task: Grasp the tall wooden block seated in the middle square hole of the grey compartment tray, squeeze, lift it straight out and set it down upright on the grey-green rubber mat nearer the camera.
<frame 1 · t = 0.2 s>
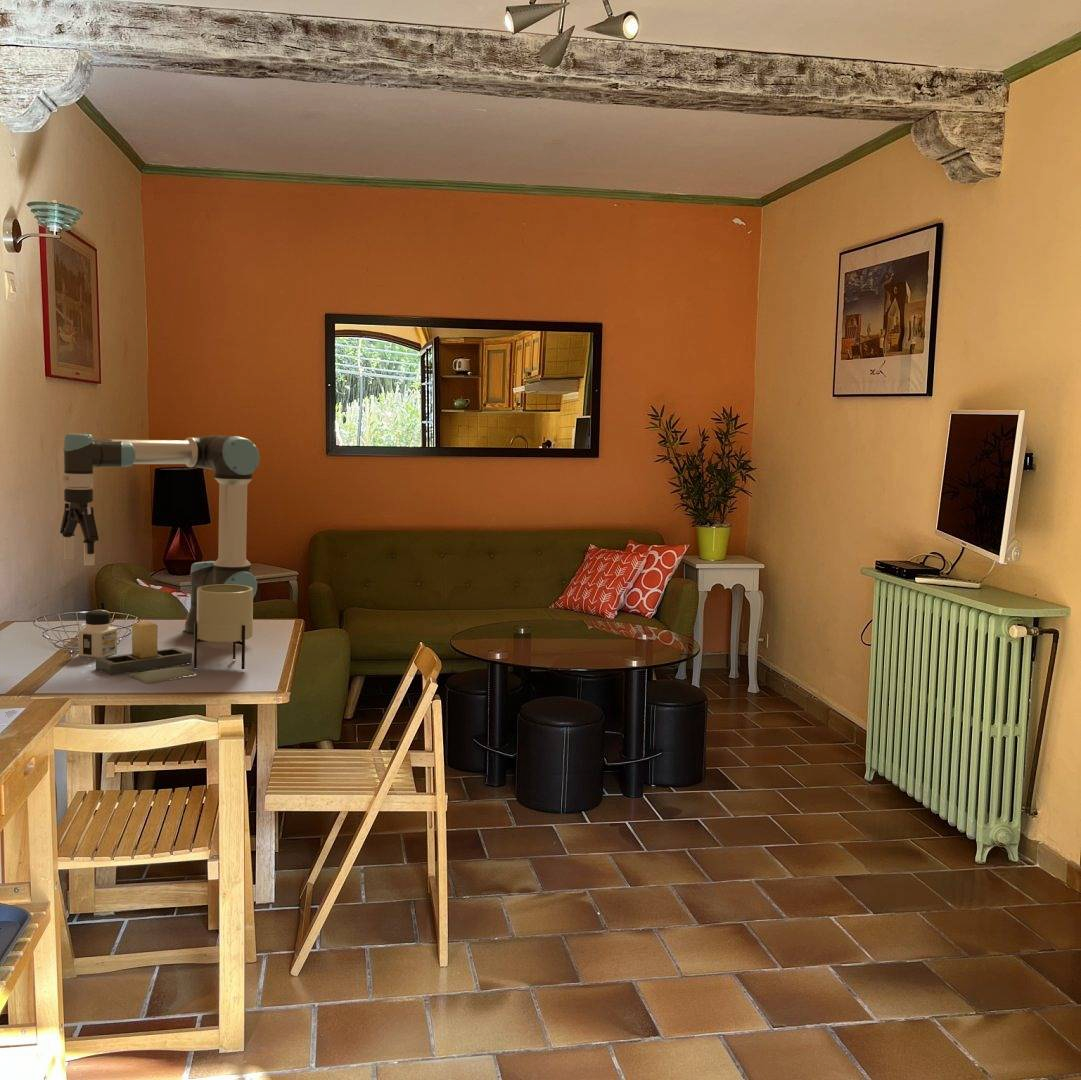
hand: (79, 562, 302), 28 cm above the table, fingers open, 13 cm apart
container: (98, 655, 310), on the table
wooden block: (144, 644, 298), in the grey compartment tray
planter: (224, 668, 302), on the table
mat: (163, 675, 289), on the table
grey compartment tray: (144, 666, 299), on the table
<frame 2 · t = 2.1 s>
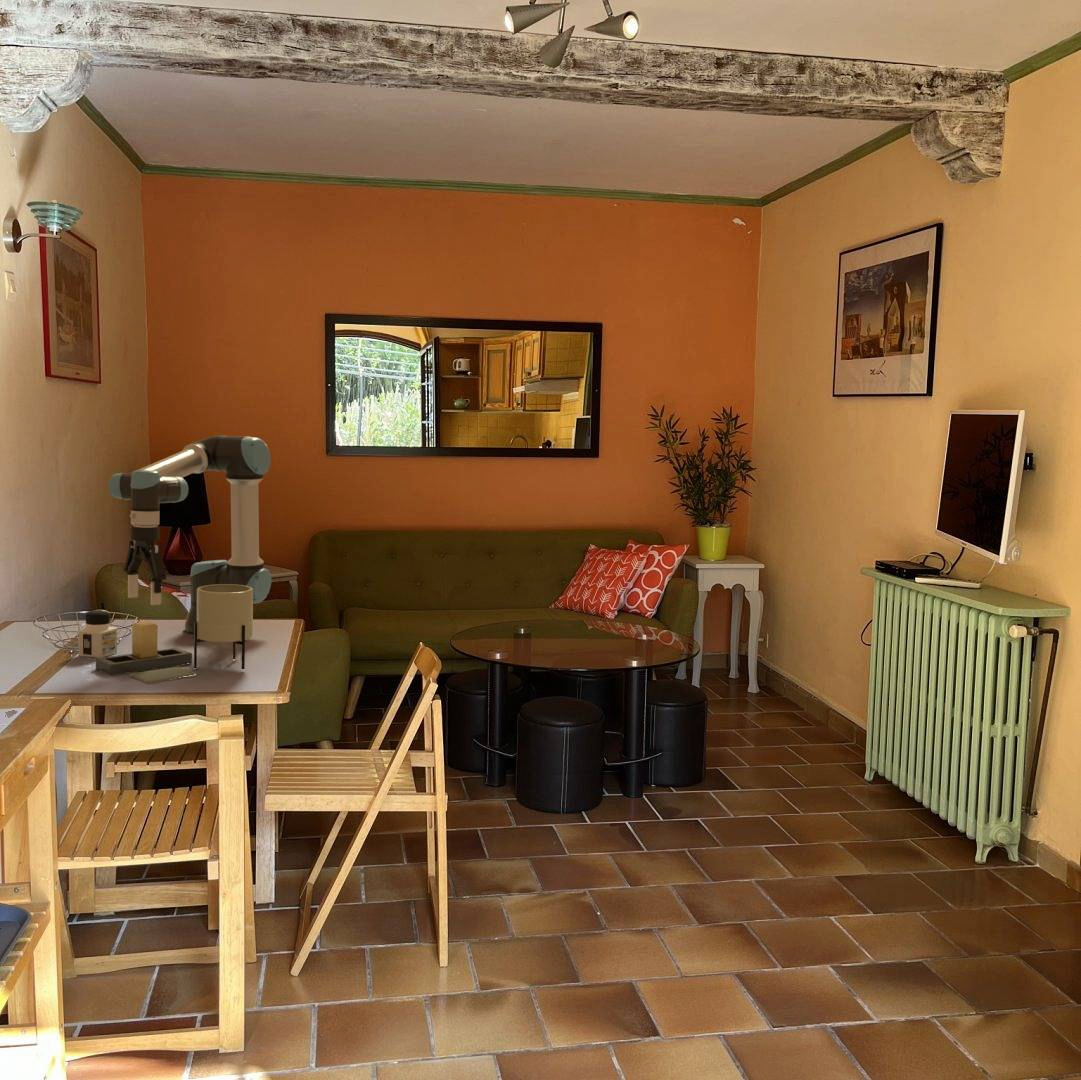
hand: (144, 601, 297), 19 cm above the table, fingers open, 13 cm apart
nothing on the table moved.
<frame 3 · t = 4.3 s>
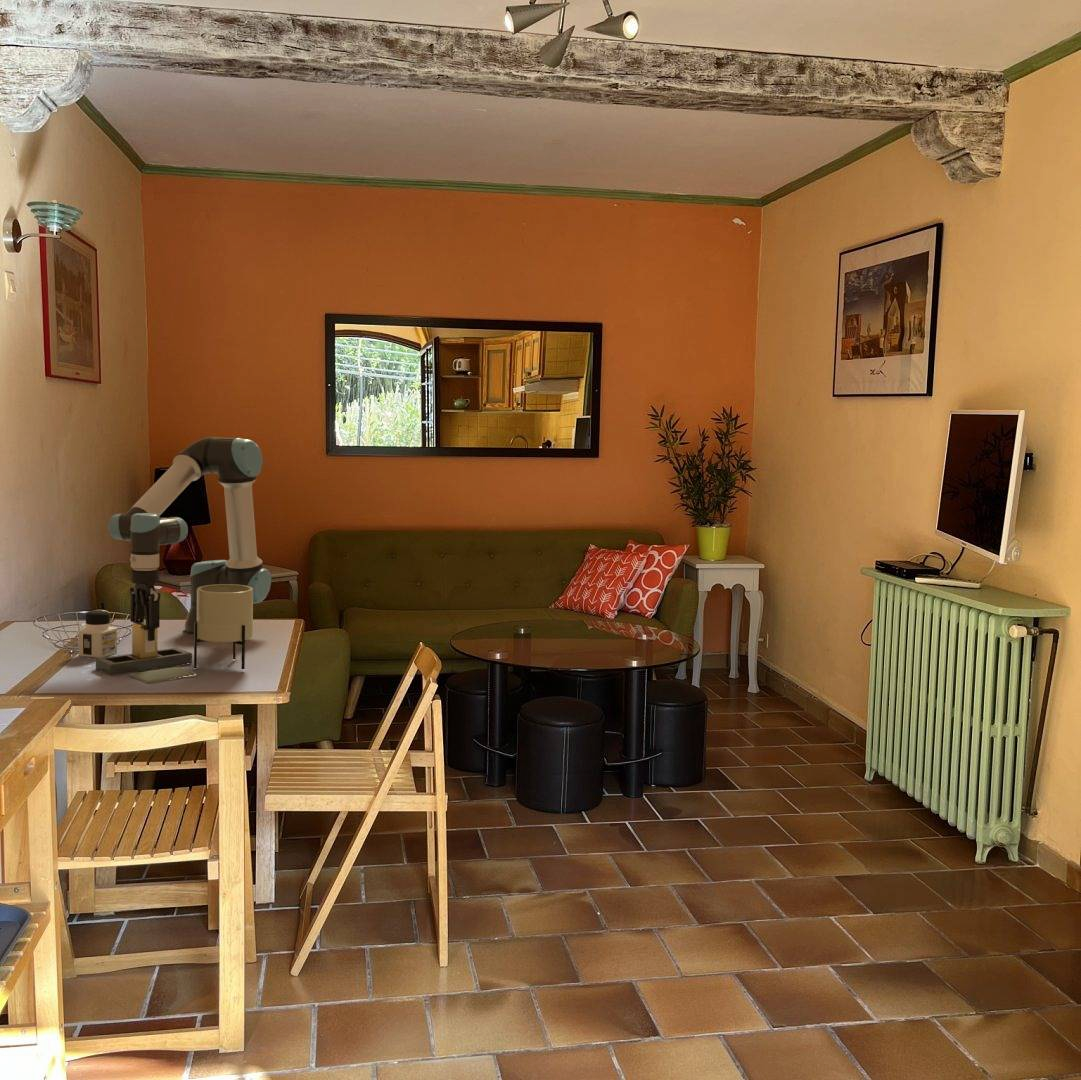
hand: (144, 649, 298), 5 cm above the table, fingers closed on wooden block, 5 cm apart
wooden block: (144, 644, 298), in the grey compartment tray, touching gripper
everything else where it was.
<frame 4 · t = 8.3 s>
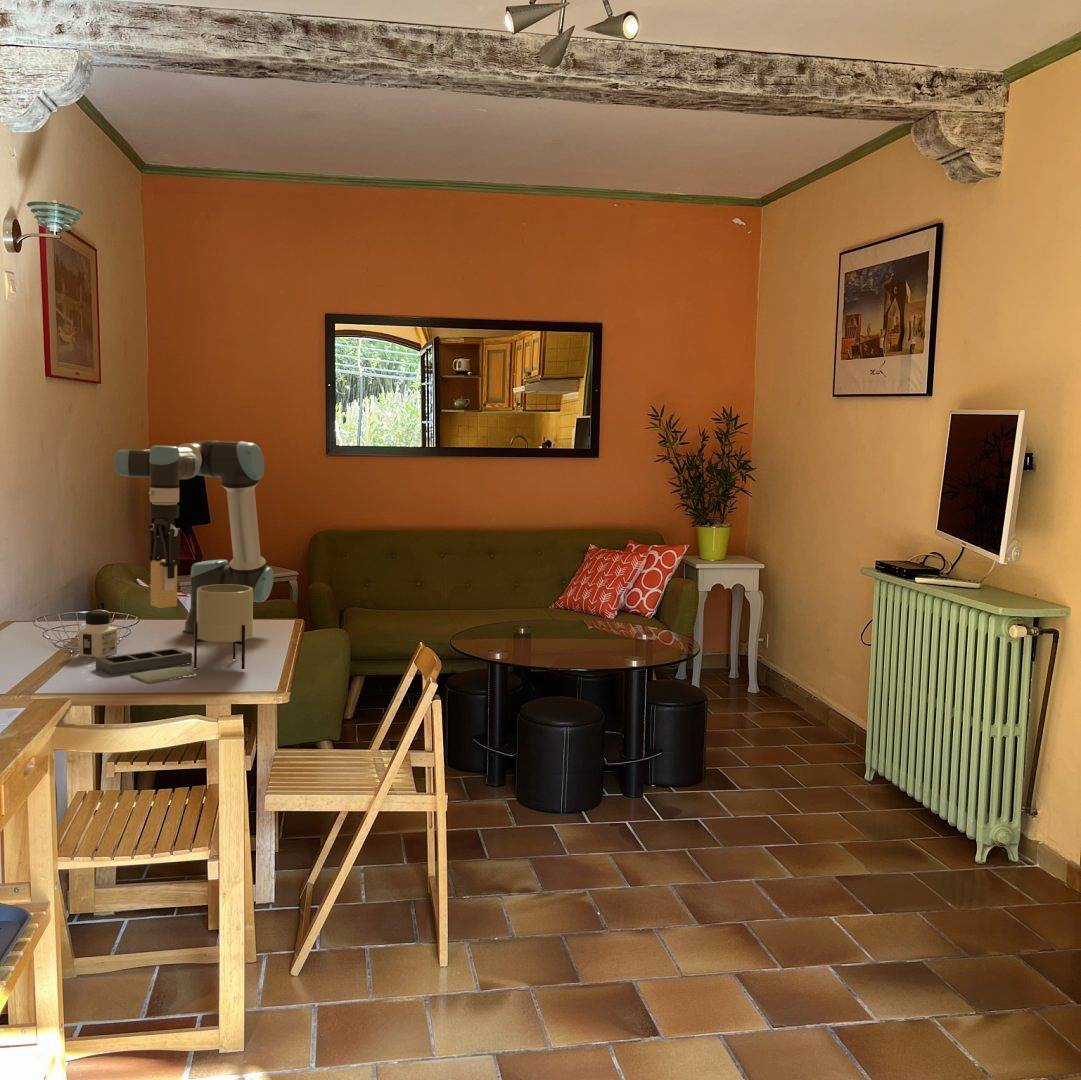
hand: (163, 588, 287), 24 cm above the table, fingers closed on wooden block, 5 cm apart
wooden block: (163, 583, 286), point 26 cm above the table, touching gripper
everything else where it was.
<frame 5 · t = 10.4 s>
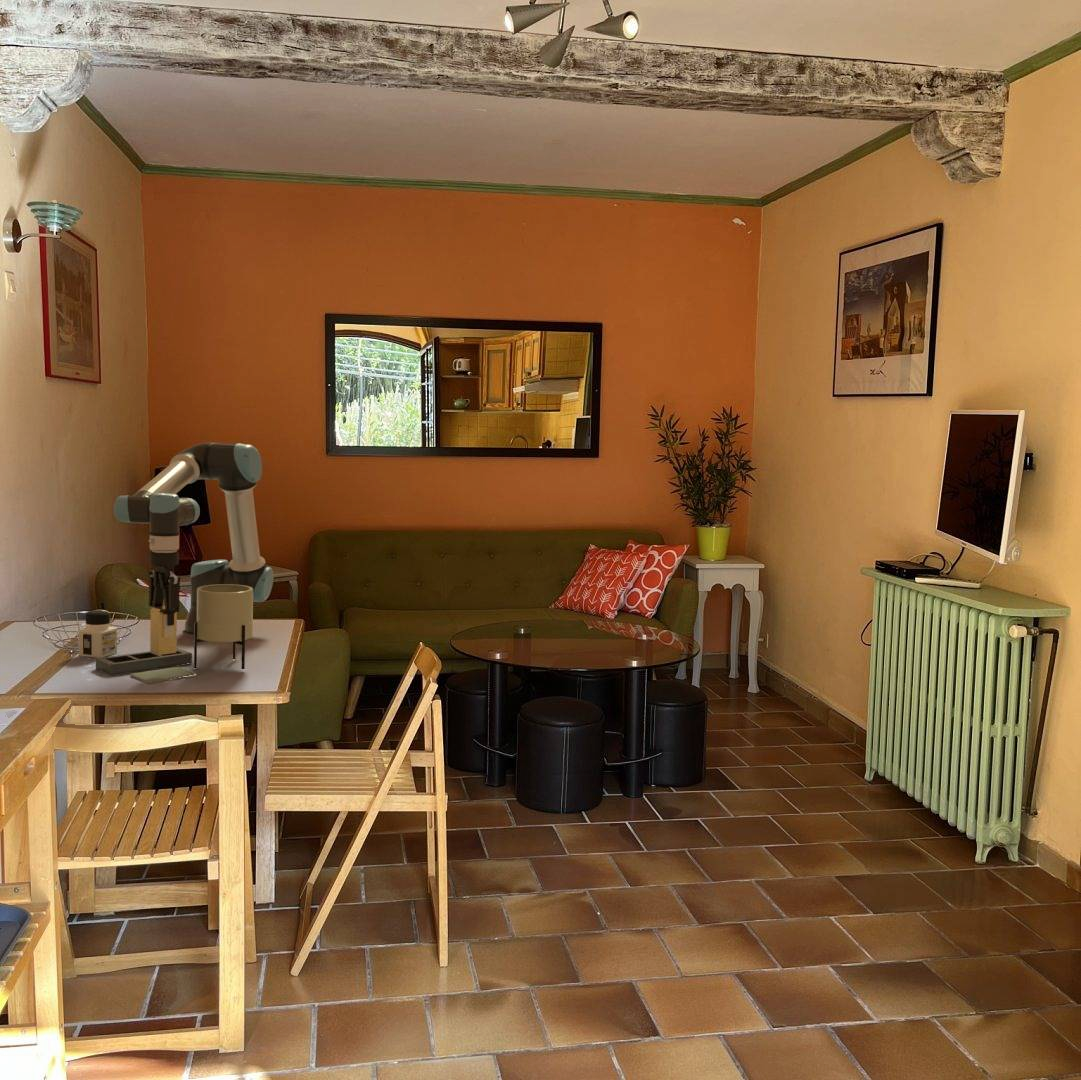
hand: (163, 635, 288), 11 cm above the table, fingers closed on wooden block, 5 cm apart
wooden block: (163, 629, 288), point 13 cm above the table, touching gripper
everything else where it was.
when the fingers open (6 cm above the table, at t = 12.2 s): wooden block drops 1 cm, resting on mat.
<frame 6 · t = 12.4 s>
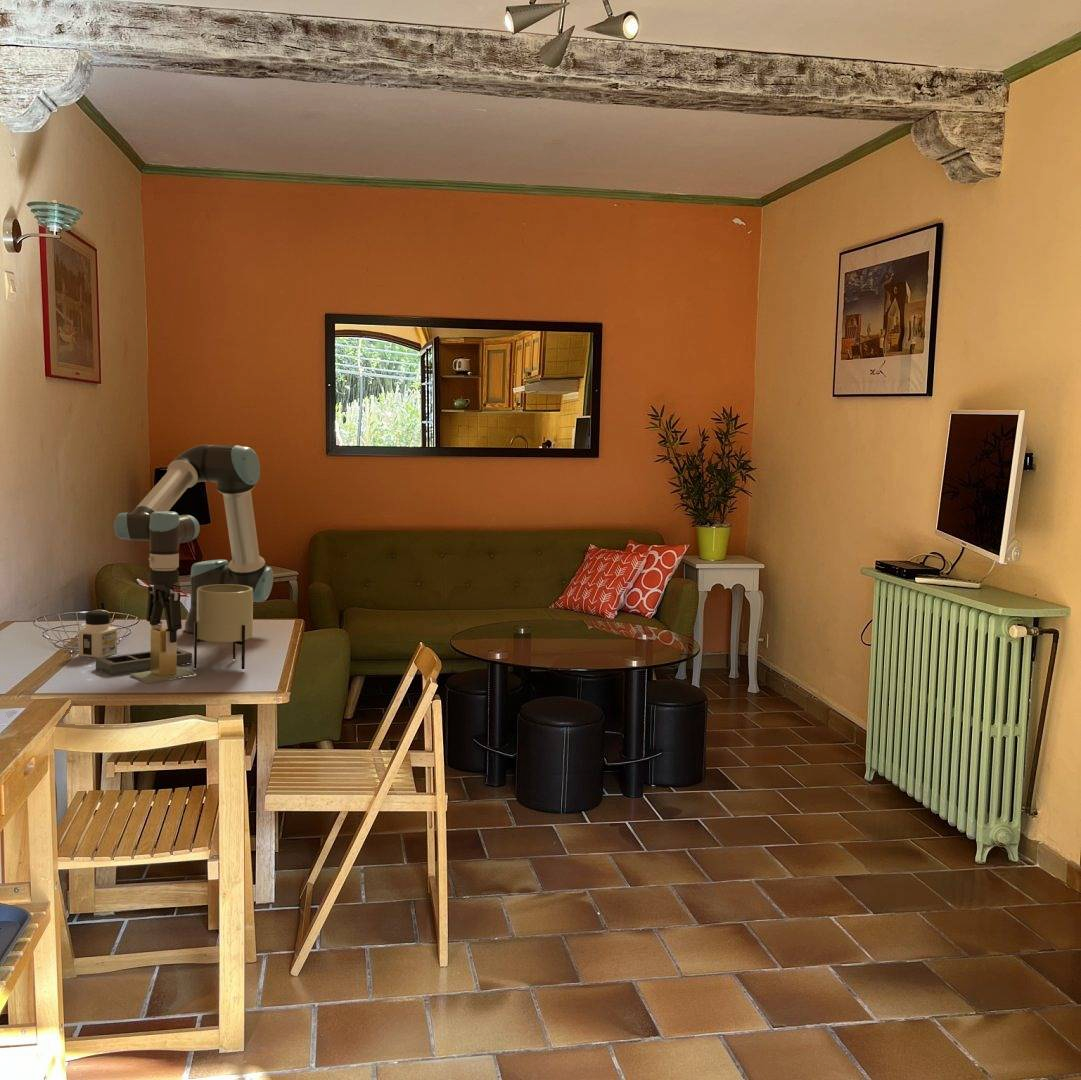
hand: (163, 650, 289), 7 cm above the table, fingers open, 8 cm apart
wooden block: (163, 651, 289), on the mat, point 7 cm above the table
everything else where it was.
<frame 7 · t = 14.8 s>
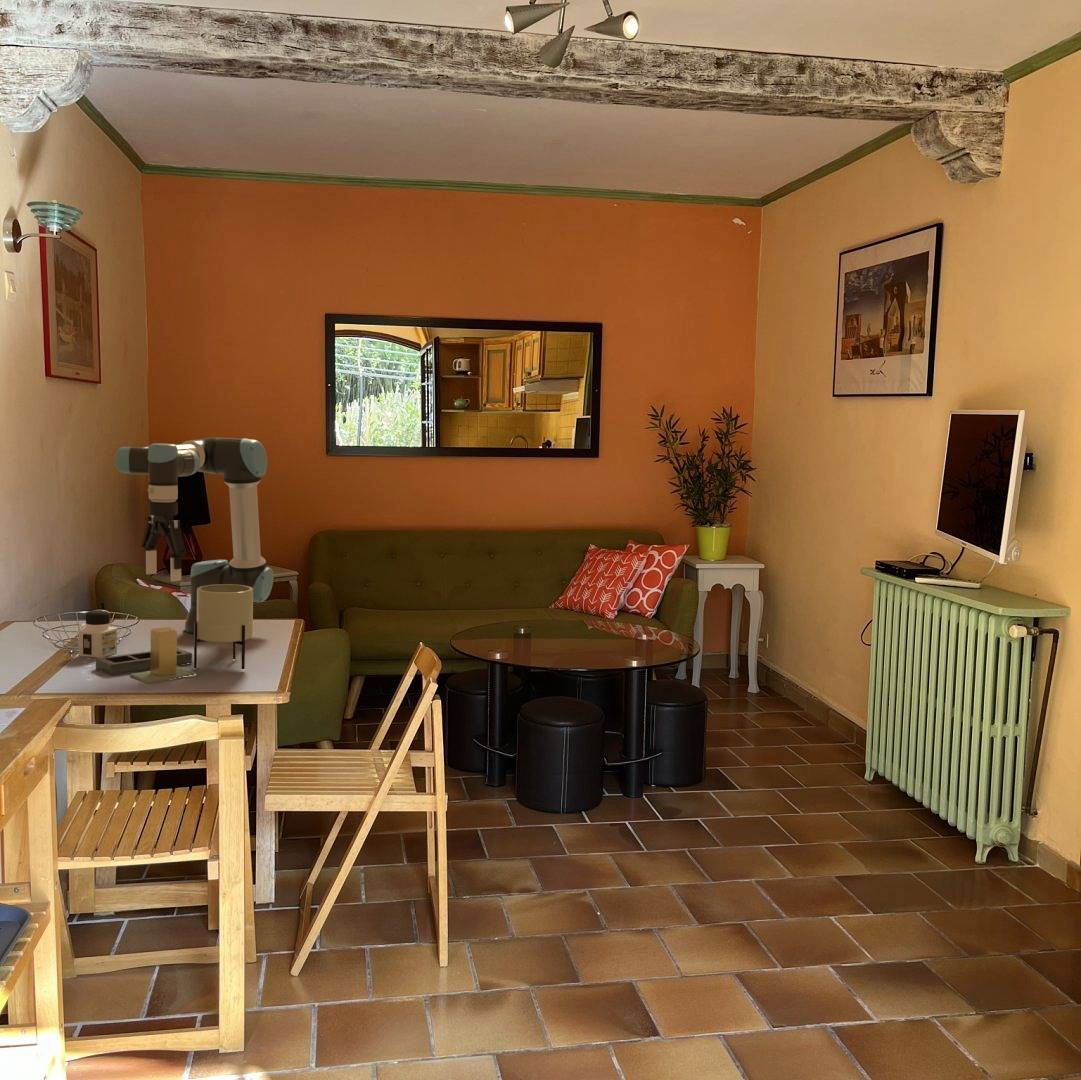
hand: (163, 577, 290), 27 cm above the table, fingers open, 13 cm apart
nothing on the table moved.
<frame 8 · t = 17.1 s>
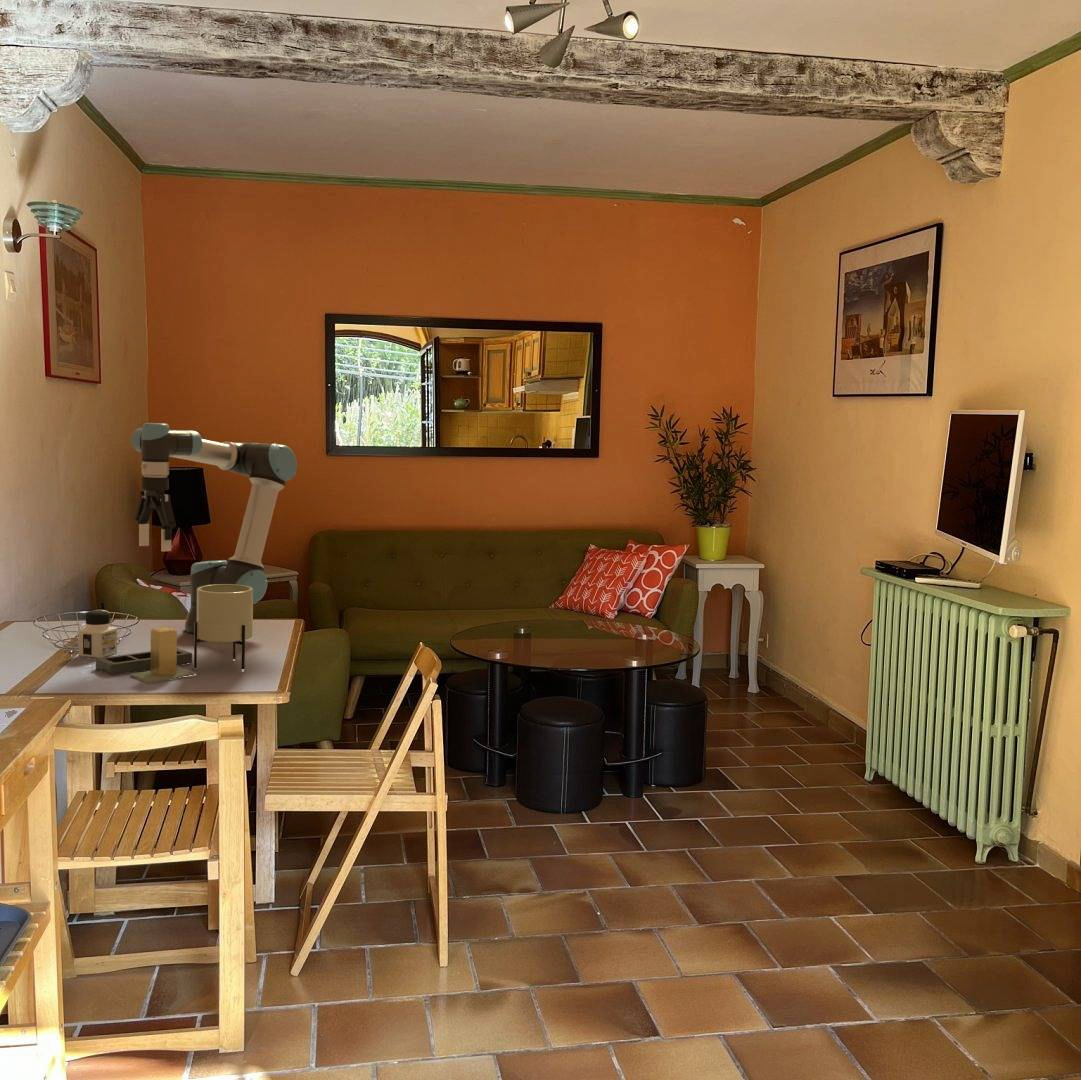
hand: (155, 548, 310), 32 cm above the table, fingers open, 13 cm apart
nothing on the table moved.
at the end: wooden block inside the target area on the mat (0.0 cm from its centre), point 6.8 cm above the mat's base; wooden block tilted 0°; wooden block touching mat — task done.
